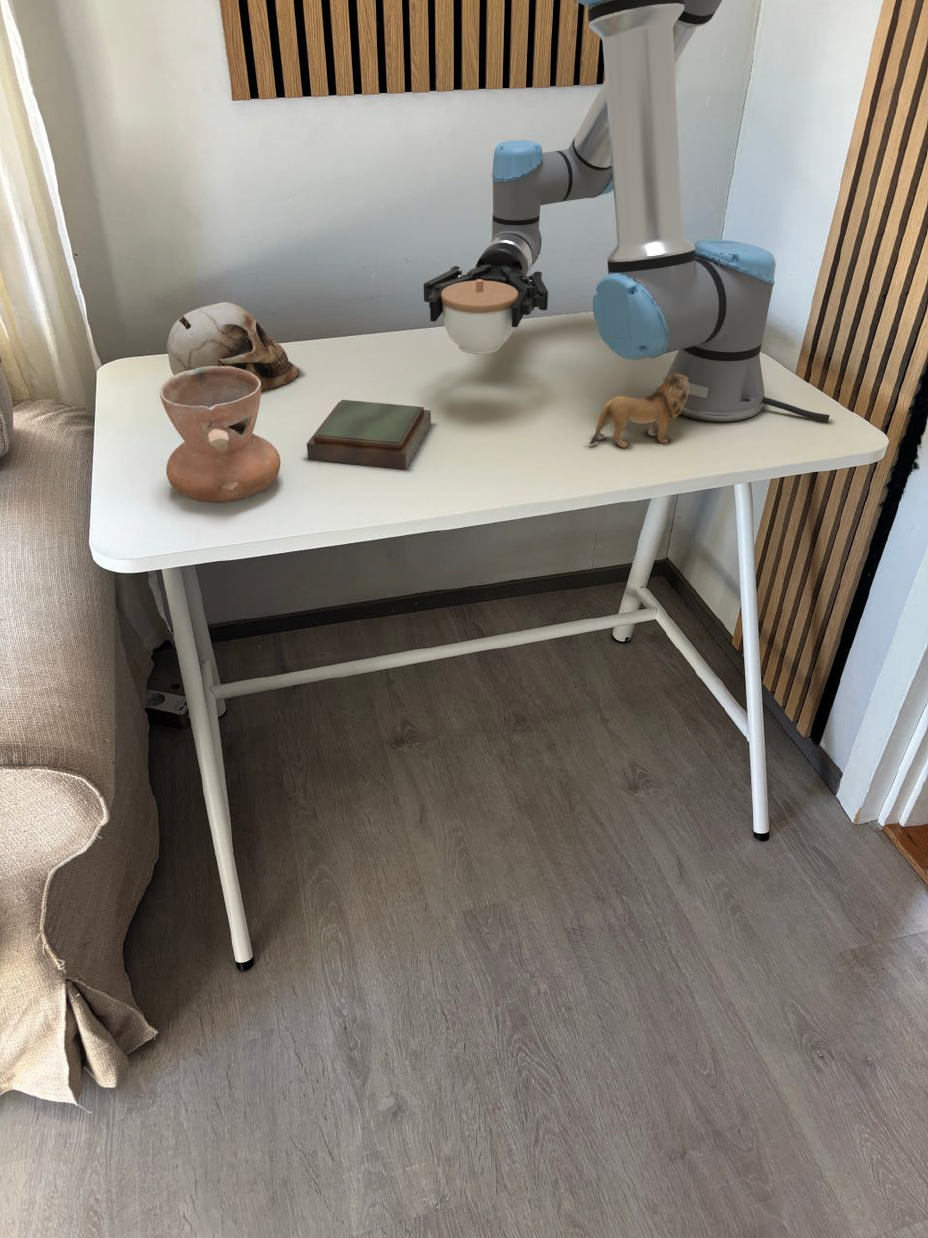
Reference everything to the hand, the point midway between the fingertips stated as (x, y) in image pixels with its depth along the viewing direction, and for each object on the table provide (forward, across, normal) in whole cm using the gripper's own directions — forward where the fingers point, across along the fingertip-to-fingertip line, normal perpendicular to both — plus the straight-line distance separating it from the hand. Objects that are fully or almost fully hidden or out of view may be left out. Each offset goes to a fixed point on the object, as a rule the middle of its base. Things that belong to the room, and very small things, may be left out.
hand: (473, 314), depth 131 cm
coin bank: (-8, +40, -16) cm, 44 cm away
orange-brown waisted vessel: (+24, +28, -17) cm, 41 cm away
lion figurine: (-1, -24, -17) cm, 29 cm away
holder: (+8, +13, -16) cm, 22 cm away
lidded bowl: (-4, 0, -6) cm, 7 cm away
